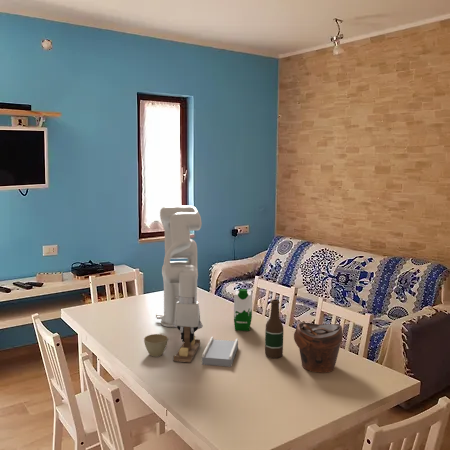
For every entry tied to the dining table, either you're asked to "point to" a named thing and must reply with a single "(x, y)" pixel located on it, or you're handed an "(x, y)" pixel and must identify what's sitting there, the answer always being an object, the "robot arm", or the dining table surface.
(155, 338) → the flower pot
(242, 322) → the milk carton
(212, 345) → the tray
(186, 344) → the brown base with upright
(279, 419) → the dining table surface
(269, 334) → the beer bottle
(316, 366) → the brown lidded bucket
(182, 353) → the crate
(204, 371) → the dining table surface
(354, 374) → the dining table surface
